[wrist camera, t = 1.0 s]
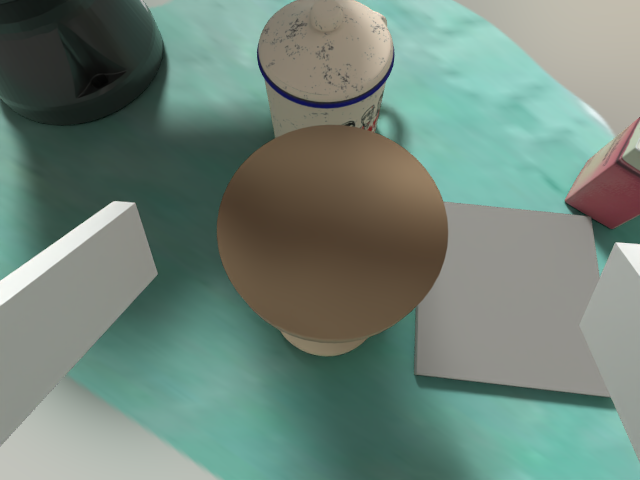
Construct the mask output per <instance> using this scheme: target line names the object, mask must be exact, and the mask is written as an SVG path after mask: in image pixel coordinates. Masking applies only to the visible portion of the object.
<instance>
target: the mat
mask: <svg viewBox="0 0 640 480" xmlns="http://www.w3.org/2000/svg"><path fill="white" fill-rule="evenodd" d="M443 203H444V205H445V210H446V215H447V220H448V246H447V251H446V256H445V261H444V263H443V266H442V269H441V271H440V274H439V276H438V278H437V280H436V281H435V283H434V285H433V287H432V288H431V290H430V291H429V292H428V294H427V295H426V296H425V298H424V299H423V300H422V301H421V302H420V303H419V304H418V305H417V306H416V318H415V354H414V375H421V376H430V377H439V378H447V379H456V380H464V381H473V382H481V383H490V384H498V385H507V386H515V387H524V388H533V389H541V390H550V391H558V392H567V393H575V394H584V395H592V396H601V397H611V396H610V394H609V392H608V390H607V387H606V385H605V383H604V381H603V378H602V376H601V374H600V372H599V369H598V367H597V365H596V362H595V360H594V358H593V356H592V353H591V351H590V349H589V347H588V344H587V342H586V340H585V338H584V335H583V333H582V331H581V329H580V326H579V324H580V322H581V320H582V317H583V315H584V313H585V310H586V308H587V306H588V304H589V301H590V299H591V297H592V294H593V292H594V290H595V288H596V285H597V283H598V281H599V278H600V277H599V270H598V263H597V256H596V249H595V241H594V234H593V227H592V220H591V216H581V215H571V214H561V213H551V212H541V211H531V210H521V209H511V208H501V207H491V206H481V205H471V204H461V203H452V202H443Z"/></svg>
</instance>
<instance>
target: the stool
mask: <svg viewBox="0 0 640 480" xmlns="http://www.w3.org/2000/svg"><path fill="white" fill-rule="evenodd" d="M217 241H218V248H219V253H220V257H221V260H222V264H223V266H224V269H225V271H226V273H227V275H228V277H229V279H230V281H231V283H232V284H233V286H234V287H235V289H236V290H237V292H238V293H239V294H240V295H241V297H242V298H243V299H244V300H245V301H246V303H247V304H248V305H249V306H250V307H251V308H252V310H253V311H254V312H255V313H257V314H258V315H259V316H260V317H261V318H262V319H263V320H264V321H266V322H267V323H269V324H270V325H272V326H273V327H275V328H276V329H278V330H280V331H281V333H282V334H283V336H284V337H285V338H286V339H287V340H288V341H289V342H290V343H291V344H292V345H294V346H295V347H297V348H298V349H300V350H302V351H304V352H306V353H309V354H312V355H317V356H337V355H341V354H344V353H347V352H350V351H352V350H353V349H355V348H357V347H358V346H360V345H361V344H362V343H363V342H364V341H365V340H366V339H367V338H368V337H371V336H374V335H376V334H379V333H381V332H383V331H384V330H386V329H388V328H390V327H392V326H393V325H394V324H396V323H397V322H399V321H400V320H401V319H403V318H404V317H405V316H406V315H407V314H409V313H410V312H411V311H412V310H413V309H414V308H415V307H416V306H417V305H418V304H419V303H420V302H421V301H422V300H423V299H424V298H425V296H426V295H427V294H428V292H429V291H430V290H431V288H432V287H433V285H434V283H435V281H436V280H437V278H438V276H439V274H440V271H441V269H442V266H443V263H444V261H445V256H446V251H447V246H448V220H447V215H446V210H445V205H444V203H443V200H442V197H441V194H440V192H439V190H438V188H437V186H436V184H435V182H434V180H433V179H432V177H431V176H430V175H429V173H428V172H427V170H426V169H425V168H424V167H423V166H422V164H421V163H420V162H419V161H418V160H417V159H416V158H415V157H414V156H413V155H411V154H410V153H409V152H408V151H407V150H406V149H404V148H403V147H401V146H400V145H398V144H397V143H395V142H394V141H392V140H390V139H388V138H386V137H384V136H382V135H379V134H377V133H374V132H372V131H369V130H365V129H361V128H357V127H351V126H345V125H318V126H311V127H306V128H301V129H298V130H294V131H291V132H288V133H286V134H283V135H281V136H279V137H277V138H275V139H273V140H271V141H270V142H268V143H266V144H264V145H263V146H262V147H260V148H259V149H258V150H256V151H255V152H254V153H253V154H252V155H251V156H250V157H249V158H247V159H246V160H245V161H244V162H243V164H242V165H241V166H240V167H239V169H238V170H237V171H236V172H235V174H234V176H233V177H232V179H231V180H230V182H229V184H228V186H227V188H226V190H225V193H224V195H223V198H222V201H221V204H220V208H219V213H218V220H217Z"/></svg>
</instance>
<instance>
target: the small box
mask: <svg viewBox="0 0 640 480" xmlns="http://www.w3.org/2000/svg"><path fill="white" fill-rule="evenodd" d="M565 202H566V203H567V204H569V205H571V206H572V207H574V208H576V209H577V210H579V211H581V212H582V213H584V214H586V215H587V216H591V218H593V219H594V220H596V221H598V222H599V223H601V224H603V225H605V226H607V227H608V228H610V229H615V228H617V227H618V226H620V225H622V224H624V223H626V222H628V221H630V220H632V219H633V218H635V217H637V216H639V215H640V117H639V118H638V119H637V120H636V121H635V122H633V123H632V124H631V125H630V126H629V127H627V128H626V129H625V130H624V131H623V132H621V133H620V134H619V135H618V136H617V137H615V138H614V139H613V140H612V141H610V142H609V143H608V144H607V145H606V146H604V147H603V148H602V149H601V150H600V151H598V152H597V153H596V154H595V155H594V156H592V157H591V158H590V159H589V160H588V161H587V163H586V164H585V166H584V167H583V169H582V170H581V172H580V174H579V175H578V177H577V178H576V180H575V182H574V184H573V186H572V188H571V189H570V191H569V193H568V195H567V197H566V199H565Z"/></svg>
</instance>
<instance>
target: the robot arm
mask: <svg viewBox="0 0 640 480" xmlns="http://www.w3.org/2000/svg"><path fill="white" fill-rule="evenodd" d="M162 54H163V43H162V38H161V34H160V31H159V29H158V27H157V25H156V23H155V20H154V18H153V16H152V14H151V11H150V10H149V8H148V6H147V5H146V3H145V2H144V1H143V0H0V99H2V100H3V101H4V102H5V103H6V104H7V105H8V106H9V107H10V108H11V109H13V110H14V111H15V112H17V113H18V114H20V115H22V116H23V117H26V118H28V119H30V120H33V121H37V122H40V123H45V124H53V125H71V124H79V123H85V122H89V121H93V120H96V119H99V118H102V117H105V116H107V115H109V114H112V113H114V112H116V111H118V110H119V109H121V108H123V107H124V106H126V105H127V104H129V103H130V102H132V101H133V100H134V99H135V98H137V97H138V96H139V95H140V94H141V93H142V92H143V91H144V90H145V89H146V88H147V86H148V85H149V84H150V83H151V81H152V80H153V78H154V77H155V75H156V73H157V71H158V69H159V66H160V63H161V59H162ZM157 275H158V273H157V270H156V266H155V263H154V260H153V257H152V254H151V250H150V247H149V244H148V241H147V238H146V235H145V231H144V228H143V225H142V222H141V219H140V216H139V212H138V209H137V206H136V203H132V202H120V201H113V202H112V203H110V204H109V205H107V206H106V207H105V208H103V209H102V210H100V211H99V212H97V213H96V214H95V215H93V216H92V217H90V218H89V219H88V220H86V221H85V222H83V223H82V224H80V225H79V226H78V227H76V228H75V229H73V230H72V231H70V232H69V233H68V234H66V235H65V236H63V237H62V238H61V239H59V240H58V241H56V242H55V243H53V244H52V245H51V246H49V247H48V248H46V249H45V250H44V251H42V252H41V253H39V254H38V255H36V256H35V257H34V258H32V259H31V260H29V261H28V262H26V263H25V264H24V265H22V266H21V267H19V268H18V269H17V270H15V271H14V272H12V273H11V274H9V275H8V276H7V277H5V278H4V279H2V280H1V281H0V446H1V445H2V444H3V443H4V442H5V441H6V440H7V439H8V438H9V436H10V435H11V434H12V433H13V432H14V431H15V430H16V428H18V427H19V426H20V424H21V423H22V422H23V421H24V420H25V419H26V418H27V417H28V416H29V415H30V413H31V412H32V411H33V410H34V409H35V408H36V407H37V406H38V405H39V404H40V403H41V401H42V400H43V399H44V398H45V397H46V396H47V395H48V394H49V392H50V391H52V389H53V388H54V387H55V386H56V385H57V384H58V383H59V382H60V381H61V380H62V378H63V377H64V376H65V375H66V374H67V373H68V372H69V371H70V370H71V369H72V368H73V366H74V365H75V364H76V363H77V362H78V361H79V360H80V359H81V358H82V357H83V356H84V354H85V353H86V352H87V351H88V350H89V349H90V348H91V347H92V346H93V345H94V344H95V342H96V341H97V340H98V339H99V338H100V337H101V336H102V335H103V334H104V333H105V332H106V330H107V329H108V328H109V327H110V326H111V325H112V324H113V323H114V322H115V321H116V319H117V318H118V317H119V316H120V315H121V314H122V313H123V312H124V311H125V310H126V309H127V307H128V306H129V305H130V304H131V303H132V302H133V301H134V300H135V299H136V298H137V297H138V295H139V294H140V293H141V292H142V291H143V290H144V289H145V288H146V287H147V286H148V285H149V283H150V282H151V281H152V280H153V279H154V278H155V277H156V276H157ZM579 326H580V329H581V331H582V333H583V335H584V338H585V340H586V342H587V344H588V347H589V349H590V351H591V353H592V356H593V358H594V360H595V362H596V365H597V367H598V369H599V372H600V374H601V376H602V378H603V381H604V383H605V385H606V387H607V390H608V392H609V394H610V396H611V399H612V401H613V403H614V405H615V408H616V410H617V412H618V414H619V417H620V419H621V421H622V423H623V426H624V428H625V430H626V433H627V435H628V437H629V439H630V442H631V444H632V446H633V448H634V451H635V453H636V455H637V457H638V460H639V462H640V244H631V243H619V242H615V244H614V246H613V249H612V251H611V253H610V255H609V258H608V260H607V262H606V265H605V267H604V269H603V271H602V274H601V276H600V278H599V281H598V283H597V285H596V288H595V290H594V292H593V294H592V297H591V299H590V301H589V304H588V306H587V308H586V310H585V313H584V315H583V317H582V320H581V322H580V324H579Z"/></svg>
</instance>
